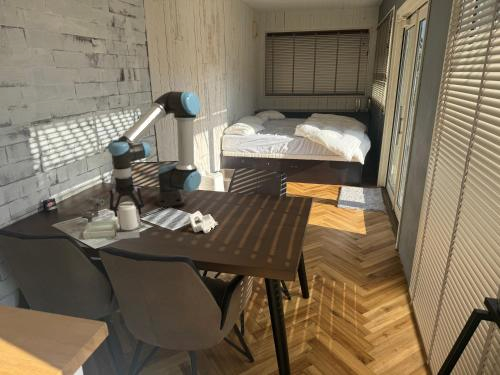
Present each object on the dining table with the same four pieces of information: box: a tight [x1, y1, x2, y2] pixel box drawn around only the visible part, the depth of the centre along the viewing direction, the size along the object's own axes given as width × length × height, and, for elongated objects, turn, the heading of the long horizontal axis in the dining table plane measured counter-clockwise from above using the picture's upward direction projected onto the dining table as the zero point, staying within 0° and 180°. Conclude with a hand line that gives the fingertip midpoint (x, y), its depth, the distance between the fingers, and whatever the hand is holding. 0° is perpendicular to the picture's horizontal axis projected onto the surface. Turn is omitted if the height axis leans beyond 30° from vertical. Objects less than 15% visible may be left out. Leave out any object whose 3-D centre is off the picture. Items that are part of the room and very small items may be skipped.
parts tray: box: [82, 219, 119, 240], centre depth 167 cm, size 14×14×3 cm
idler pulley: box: [80, 209, 97, 224], centre depth 174 cm, size 7×7×7 cm
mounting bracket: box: [188, 210, 219, 234], centre depth 171 cm, size 12×6×11 cm, turn 156°
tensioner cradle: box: [115, 221, 142, 240], centre depth 166 cm, size 10×12×3 cm
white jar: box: [117, 201, 139, 231], centre depth 165 cm, size 8×8×12 cm
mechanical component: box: [85, 196, 105, 218], centre depth 185 cm, size 3×10×10 cm, turn 79°
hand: (129, 221), depth 166 cm, fingers closed on white jar, 8 cm apart
